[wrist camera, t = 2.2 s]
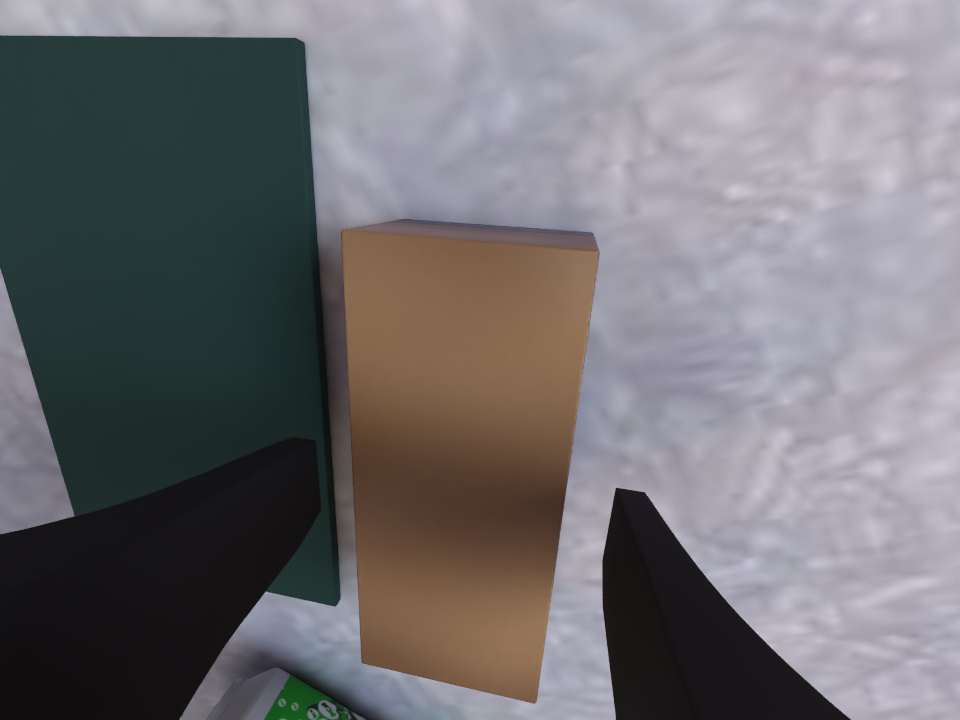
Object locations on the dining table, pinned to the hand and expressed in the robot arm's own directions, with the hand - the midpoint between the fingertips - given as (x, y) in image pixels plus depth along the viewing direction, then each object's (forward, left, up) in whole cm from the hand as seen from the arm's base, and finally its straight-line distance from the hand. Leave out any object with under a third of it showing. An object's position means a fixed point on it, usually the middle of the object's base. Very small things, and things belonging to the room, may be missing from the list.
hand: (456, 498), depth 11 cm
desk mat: (+1, +11, -3) cm, 11 cm away
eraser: (0, 0, -3) cm, 3 cm away
